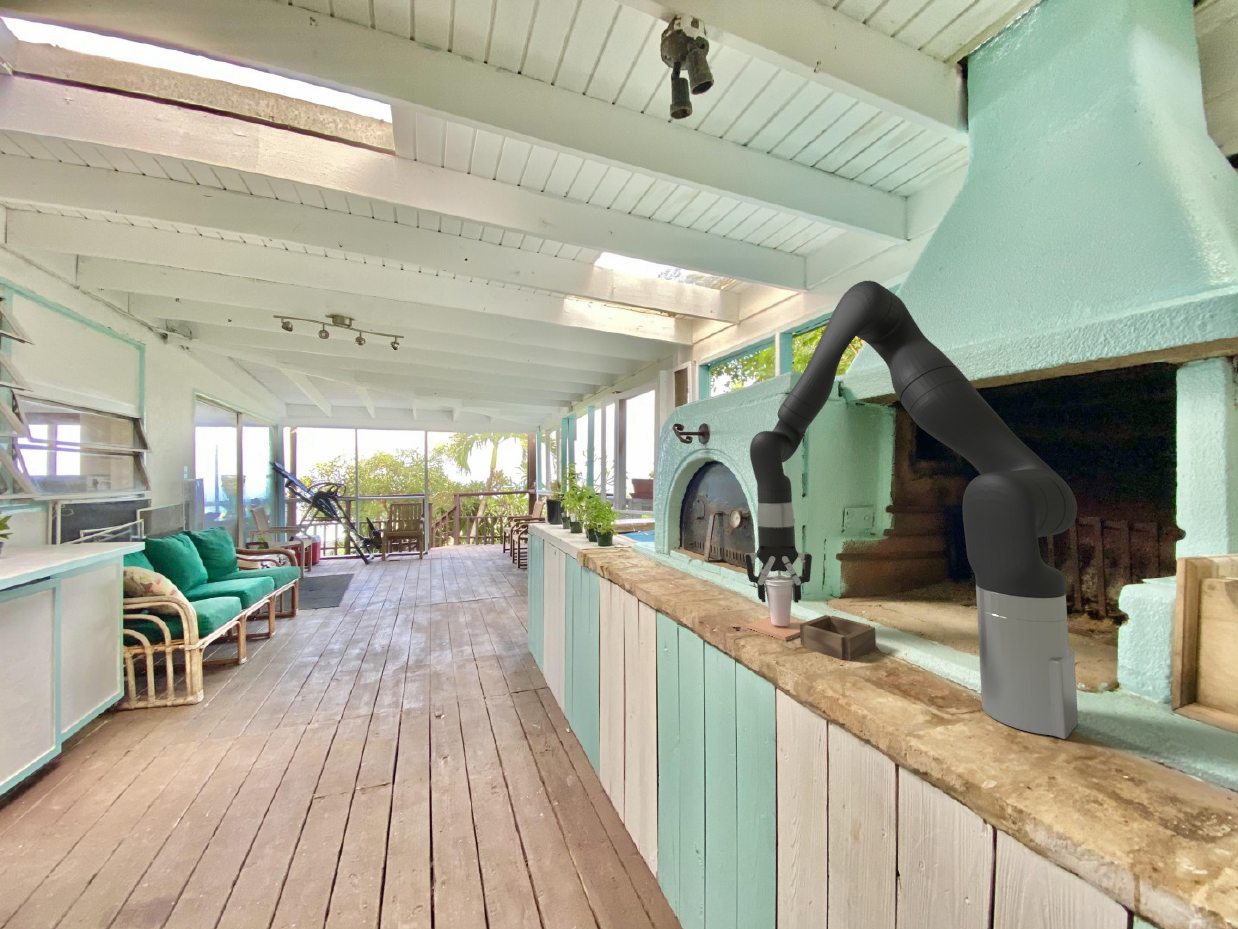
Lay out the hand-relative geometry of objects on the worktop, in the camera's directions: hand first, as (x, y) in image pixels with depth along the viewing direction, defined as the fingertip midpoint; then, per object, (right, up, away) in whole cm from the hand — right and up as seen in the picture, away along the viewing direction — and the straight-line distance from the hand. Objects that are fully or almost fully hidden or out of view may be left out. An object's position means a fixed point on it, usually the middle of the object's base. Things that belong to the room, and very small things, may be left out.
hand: (779, 601), depth 99 cm
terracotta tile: (0, -6, 0) cm, 6 cm away
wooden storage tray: (+8, -5, -11) cm, 14 cm away
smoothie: (0, -5, 0) cm, 5 cm away
